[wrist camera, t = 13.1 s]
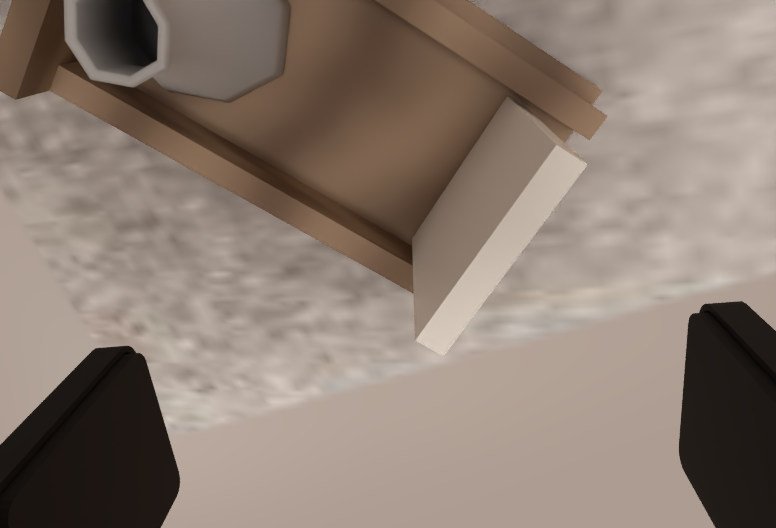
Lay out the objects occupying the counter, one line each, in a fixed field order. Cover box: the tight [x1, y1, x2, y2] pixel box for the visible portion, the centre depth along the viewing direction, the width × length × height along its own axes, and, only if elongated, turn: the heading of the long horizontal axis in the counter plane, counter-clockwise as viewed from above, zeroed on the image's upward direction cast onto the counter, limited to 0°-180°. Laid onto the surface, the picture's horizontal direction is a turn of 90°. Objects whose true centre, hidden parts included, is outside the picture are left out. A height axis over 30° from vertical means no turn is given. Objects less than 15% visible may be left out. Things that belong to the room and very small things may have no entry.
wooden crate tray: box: [0, 0, 607, 293], centre depth 27 cm, size 22×13×6 cm, turn 59°
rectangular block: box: [412, 96, 587, 356], centre depth 25 cm, size 1×8×10 cm, turn 149°
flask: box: [64, 0, 290, 103], centre depth 23 cm, size 7×7×10 cm
